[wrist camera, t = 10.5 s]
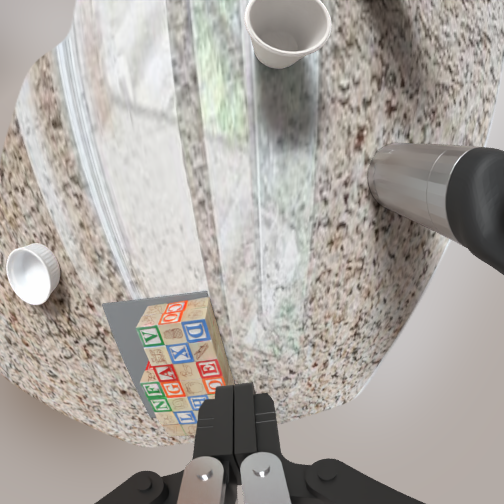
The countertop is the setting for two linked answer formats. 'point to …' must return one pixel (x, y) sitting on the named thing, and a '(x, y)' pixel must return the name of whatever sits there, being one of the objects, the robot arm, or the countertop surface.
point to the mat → (124, 331)
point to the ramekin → (33, 273)
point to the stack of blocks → (182, 361)
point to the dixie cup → (286, 29)
